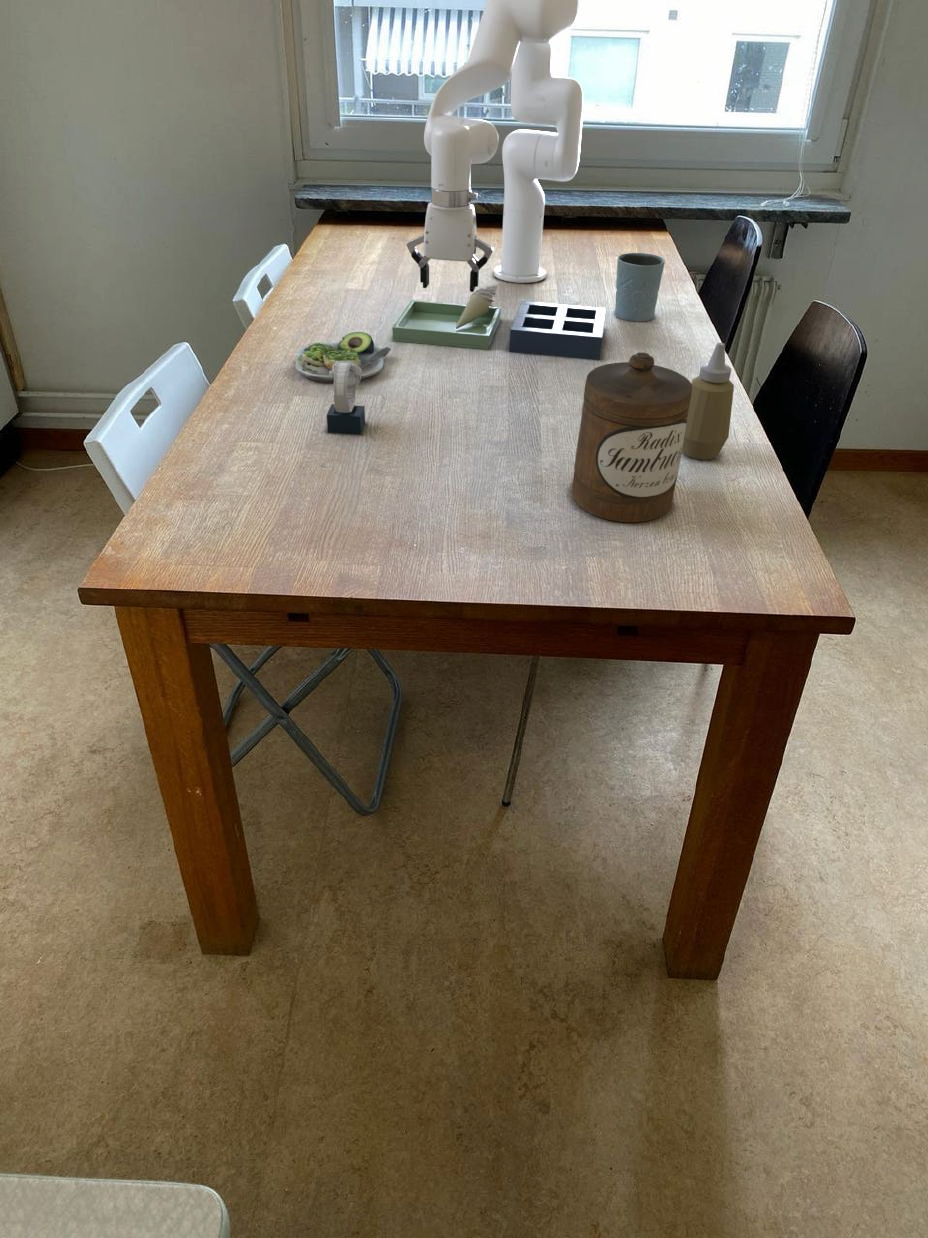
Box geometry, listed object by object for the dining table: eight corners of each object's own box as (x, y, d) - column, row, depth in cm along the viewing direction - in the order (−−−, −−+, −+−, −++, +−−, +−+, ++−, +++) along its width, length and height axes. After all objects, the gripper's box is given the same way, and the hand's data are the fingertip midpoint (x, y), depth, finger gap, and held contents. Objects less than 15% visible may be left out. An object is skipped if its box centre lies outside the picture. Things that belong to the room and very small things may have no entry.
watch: (367, 418, 156) (364, 355, 149) (359, 439, 149) (356, 374, 143) (334, 416, 156) (330, 353, 150) (325, 437, 150) (320, 372, 143)
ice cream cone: (447, 331, 193) (490, 288, 198) (467, 341, 191) (509, 297, 196) (445, 313, 189) (488, 269, 194) (465, 323, 187) (508, 278, 192)
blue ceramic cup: (636, 325, 197) (644, 268, 190) (600, 312, 203) (607, 256, 196) (665, 316, 203) (674, 259, 195) (630, 304, 209) (638, 249, 201)
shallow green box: (411, 312, 200) (411, 299, 198) (500, 320, 197) (500, 307, 196) (392, 340, 186) (392, 327, 184) (488, 349, 183) (488, 335, 182)
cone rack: (519, 321, 197) (521, 300, 194) (603, 329, 195) (606, 307, 192) (508, 351, 183) (510, 329, 180) (599, 359, 181) (602, 337, 178)
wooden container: (603, 531, 128) (625, 381, 115) (553, 483, 139) (568, 341, 126) (692, 512, 133) (722, 366, 120) (637, 467, 144) (659, 329, 131)
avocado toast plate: (389, 390, 165) (388, 365, 163) (289, 389, 165) (287, 364, 162) (391, 351, 181) (391, 328, 178) (300, 349, 180) (298, 326, 177)
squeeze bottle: (729, 447, 151) (752, 340, 140) (718, 468, 145) (742, 357, 134) (680, 437, 153) (700, 331, 143) (668, 457, 147) (687, 347, 137)
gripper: (498, 196, 178) (493, 285, 188) (410, 190, 180) (411, 279, 190) (492, 205, 172) (488, 297, 182) (402, 199, 174) (403, 290, 184)
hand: (449, 287), depth 186 cm, fingers open, 9 cm apart
